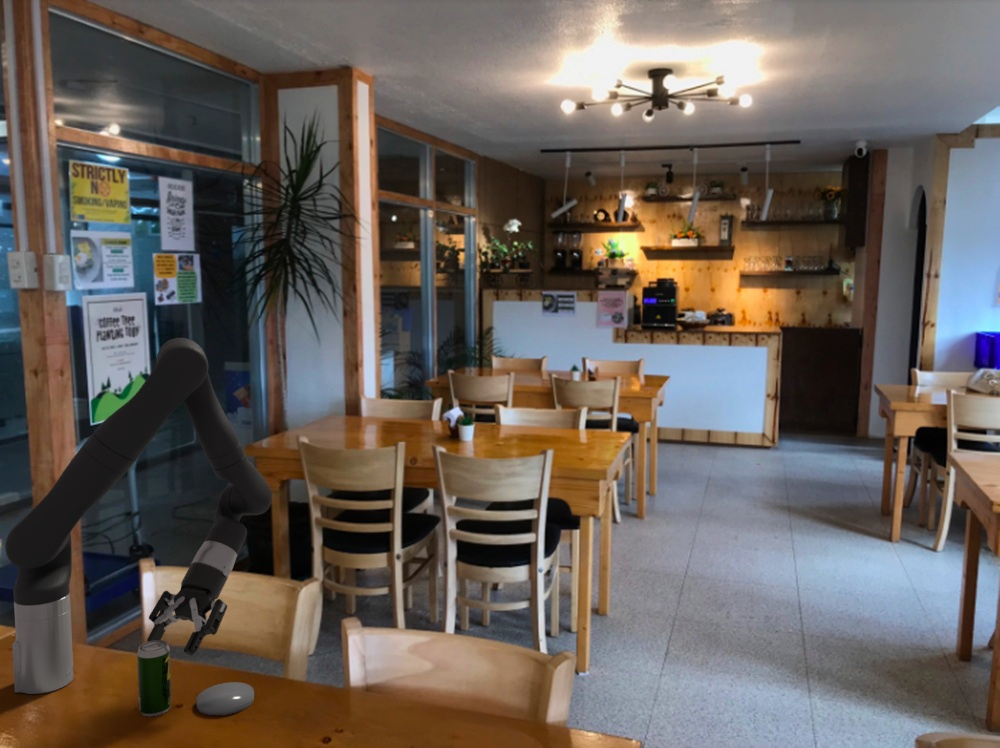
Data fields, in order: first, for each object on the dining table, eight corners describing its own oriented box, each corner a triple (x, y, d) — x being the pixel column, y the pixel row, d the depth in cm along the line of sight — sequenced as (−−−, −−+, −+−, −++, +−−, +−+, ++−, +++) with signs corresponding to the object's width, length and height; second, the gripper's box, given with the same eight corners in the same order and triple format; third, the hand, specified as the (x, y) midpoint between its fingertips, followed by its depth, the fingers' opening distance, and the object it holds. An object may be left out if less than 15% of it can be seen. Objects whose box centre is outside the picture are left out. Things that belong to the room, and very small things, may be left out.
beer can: (142, 721, 138) (139, 655, 137) (137, 707, 142) (134, 644, 141) (174, 712, 141) (172, 648, 140) (168, 699, 145) (166, 637, 144)
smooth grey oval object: (193, 719, 138) (193, 712, 138) (199, 691, 148) (199, 685, 148) (252, 711, 141) (252, 705, 141) (255, 685, 151) (255, 679, 151)
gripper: (170, 556, 153) (127, 636, 144) (230, 565, 149) (189, 648, 139) (190, 574, 159) (150, 652, 149) (249, 582, 154) (211, 664, 144)
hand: (169, 650), depth 144 cm, fingers open, 8 cm apart
